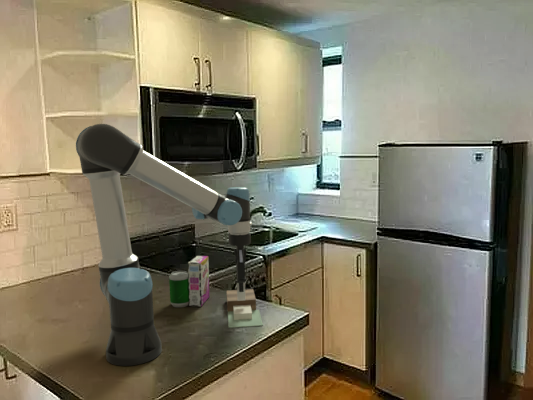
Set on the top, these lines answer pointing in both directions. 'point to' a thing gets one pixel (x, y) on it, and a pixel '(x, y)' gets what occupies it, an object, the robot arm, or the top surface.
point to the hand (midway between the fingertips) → (241, 299)
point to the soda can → (179, 288)
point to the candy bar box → (198, 280)
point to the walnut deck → (233, 301)
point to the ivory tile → (242, 312)
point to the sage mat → (245, 320)
